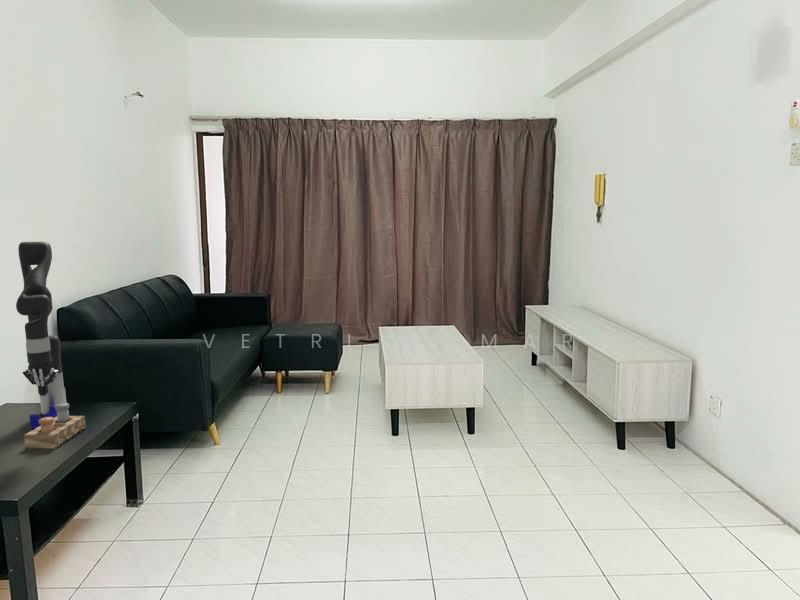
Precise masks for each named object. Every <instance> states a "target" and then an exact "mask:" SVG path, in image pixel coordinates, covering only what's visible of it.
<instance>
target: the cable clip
mask: <svg viewBox="0 0 800 600" xmlns="http://www.w3.org/2000/svg"><path fill="white" fill-rule="evenodd" d="M56 416H57V410H55V406H53V405H52V406H50V407H49V413H47V414H45V415H43V416H42V418H45V417H53V418H55V417H56ZM39 419H41V417H40V414H34V413H31V414H30V415H29V423H30V430H31V429H36V428H37V427H39V426H41V425H40V424H39Z"/></svg>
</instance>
